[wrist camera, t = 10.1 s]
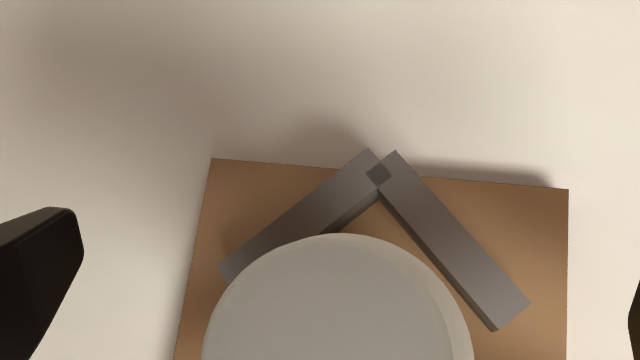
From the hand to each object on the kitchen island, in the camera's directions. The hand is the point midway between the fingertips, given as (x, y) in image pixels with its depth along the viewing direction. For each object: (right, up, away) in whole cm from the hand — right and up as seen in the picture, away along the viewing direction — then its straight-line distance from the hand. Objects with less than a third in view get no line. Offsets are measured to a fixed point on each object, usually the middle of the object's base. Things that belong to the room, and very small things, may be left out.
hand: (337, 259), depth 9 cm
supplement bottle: (+1, -4, +9) cm, 10 cm away
